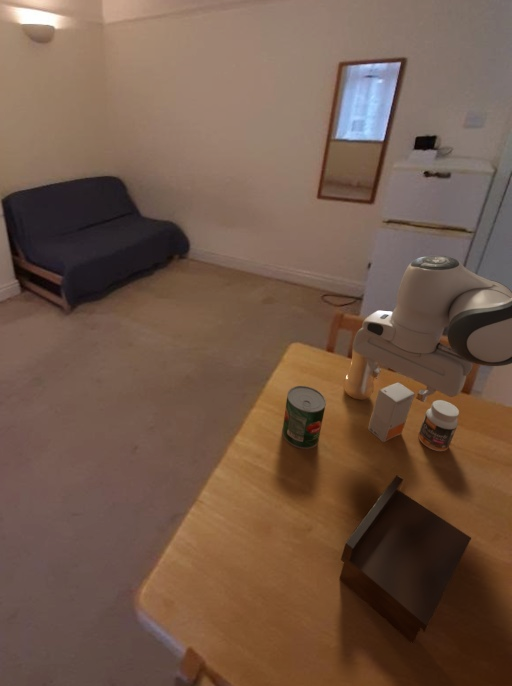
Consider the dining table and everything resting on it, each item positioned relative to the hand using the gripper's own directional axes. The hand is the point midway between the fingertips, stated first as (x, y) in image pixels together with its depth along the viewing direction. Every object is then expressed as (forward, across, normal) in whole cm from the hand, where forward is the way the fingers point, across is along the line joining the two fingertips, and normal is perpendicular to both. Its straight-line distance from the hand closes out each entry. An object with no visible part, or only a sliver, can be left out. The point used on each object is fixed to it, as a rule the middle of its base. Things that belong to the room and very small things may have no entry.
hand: (396, 387), depth 86 cm
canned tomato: (+14, +12, +15) cm, 23 cm away
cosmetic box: (+13, 0, 0) cm, 13 cm away
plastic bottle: (+13, +10, -7) cm, 18 cm away
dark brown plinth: (+13, -14, +27) cm, 33 cm away
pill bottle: (+13, -8, -5) cm, 16 cm away
